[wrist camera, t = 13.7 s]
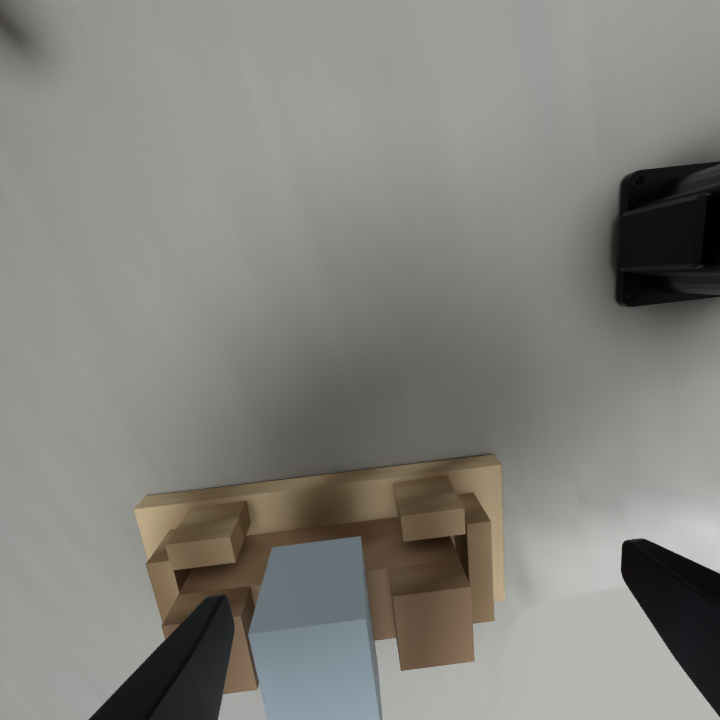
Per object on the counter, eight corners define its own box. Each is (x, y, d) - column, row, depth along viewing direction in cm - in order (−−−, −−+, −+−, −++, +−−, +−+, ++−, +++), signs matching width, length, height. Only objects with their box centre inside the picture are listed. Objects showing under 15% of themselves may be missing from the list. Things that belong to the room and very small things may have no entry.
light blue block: (360, 536, 16) (365, 618, 12) (377, 666, 18) (387, 776, 14) (272, 547, 16) (248, 634, 12) (297, 677, 17) (283, 790, 14)
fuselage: (439, 511, 20) (470, 586, 15) (443, 571, 21) (474, 661, 16) (207, 540, 20) (161, 626, 15) (221, 599, 20) (182, 699, 16)
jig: (492, 454, 20) (527, 494, 17) (496, 583, 22) (528, 647, 19) (145, 496, 20) (98, 547, 16) (180, 623, 22) (145, 696, 18)
